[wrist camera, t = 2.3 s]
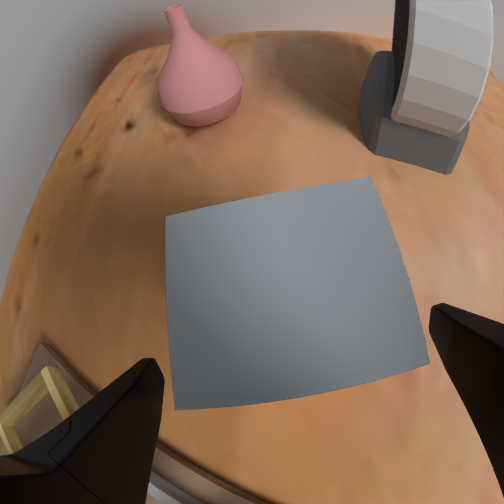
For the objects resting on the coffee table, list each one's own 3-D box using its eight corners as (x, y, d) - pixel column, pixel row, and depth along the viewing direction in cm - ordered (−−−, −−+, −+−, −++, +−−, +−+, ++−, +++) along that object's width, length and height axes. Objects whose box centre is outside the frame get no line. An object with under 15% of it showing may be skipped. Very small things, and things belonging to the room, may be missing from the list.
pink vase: (247, 136, 25) (215, 11, 14) (166, 146, 26) (111, 40, 15) (251, 87, 28) (228, -15, 17) (181, 97, 29) (144, 6, 19)
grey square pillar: (344, 378, 16) (430, 363, 5) (259, 393, 16) (174, 409, 5) (330, 308, 18) (370, 176, 7) (249, 323, 18) (165, 216, 7)
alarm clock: (365, 67, 28) (367, -77, 11) (448, 89, 25) (476, -47, 9) (348, 165, 22) (360, -78, 6) (466, 198, 19) (557, -3, 3)
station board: (310, 519, 12) (310, 536, 10) (218, 614, 8) (209, 630, 6) (46, 342, 20) (25, 336, 17) (6, 448, 16) (-13, 448, 13)
